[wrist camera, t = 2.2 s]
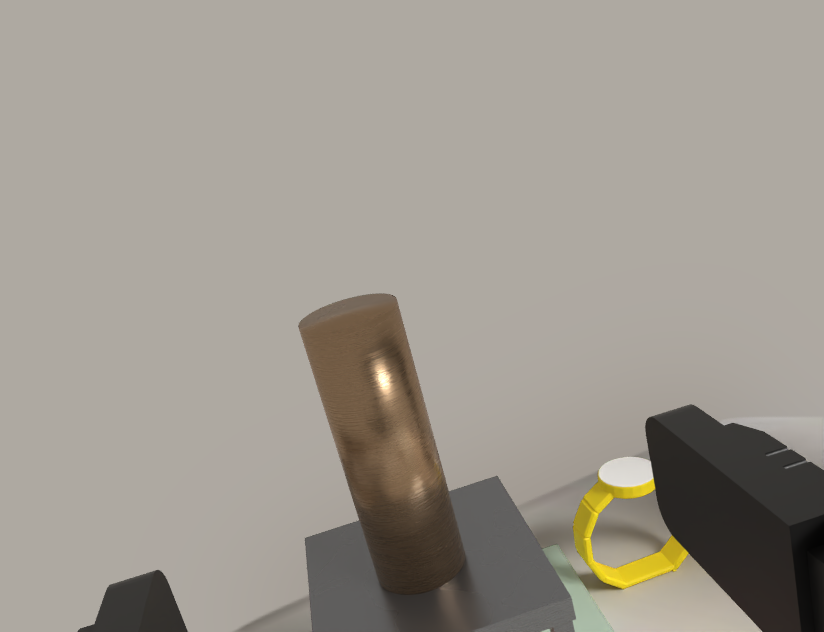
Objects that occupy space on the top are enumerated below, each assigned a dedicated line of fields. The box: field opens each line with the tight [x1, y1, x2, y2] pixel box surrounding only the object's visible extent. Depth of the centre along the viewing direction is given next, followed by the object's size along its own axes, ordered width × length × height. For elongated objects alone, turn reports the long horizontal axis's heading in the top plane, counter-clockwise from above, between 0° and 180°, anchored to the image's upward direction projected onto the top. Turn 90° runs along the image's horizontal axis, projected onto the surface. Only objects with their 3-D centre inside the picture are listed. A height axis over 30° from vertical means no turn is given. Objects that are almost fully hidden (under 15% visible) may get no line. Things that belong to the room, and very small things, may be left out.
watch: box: [573, 457, 689, 589], centre depth 37 cm, size 6×3×6 cm, turn 103°
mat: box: [541, 544, 614, 632], centre depth 37 cm, size 8×8×1 cm
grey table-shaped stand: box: [298, 294, 576, 632], centre depth 26 cm, size 8×8×20 cm
